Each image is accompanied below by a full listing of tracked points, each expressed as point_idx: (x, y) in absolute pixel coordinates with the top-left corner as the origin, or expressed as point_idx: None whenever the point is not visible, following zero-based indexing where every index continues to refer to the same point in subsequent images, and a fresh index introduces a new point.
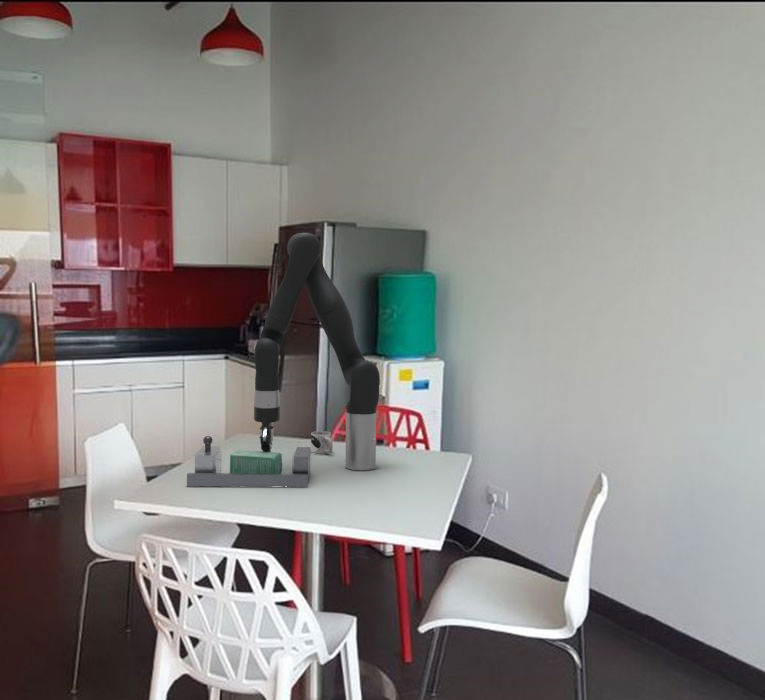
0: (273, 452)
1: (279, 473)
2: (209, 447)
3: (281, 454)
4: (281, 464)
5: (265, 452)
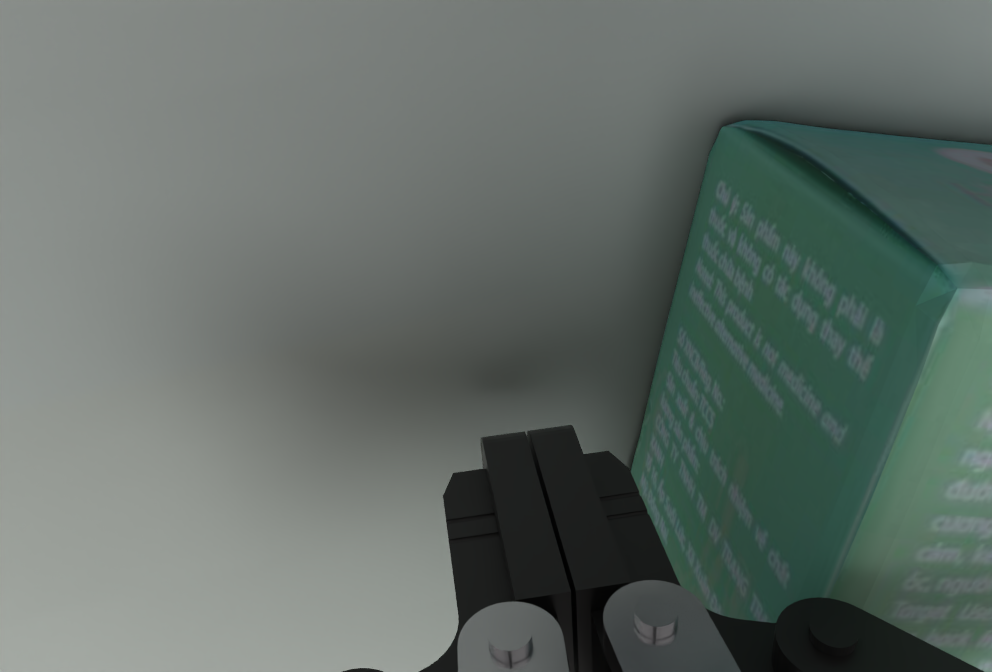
0: (956, 470)
1: (894, 138)
2: None
3: (982, 263)
4: (884, 167)
5: (945, 612)
